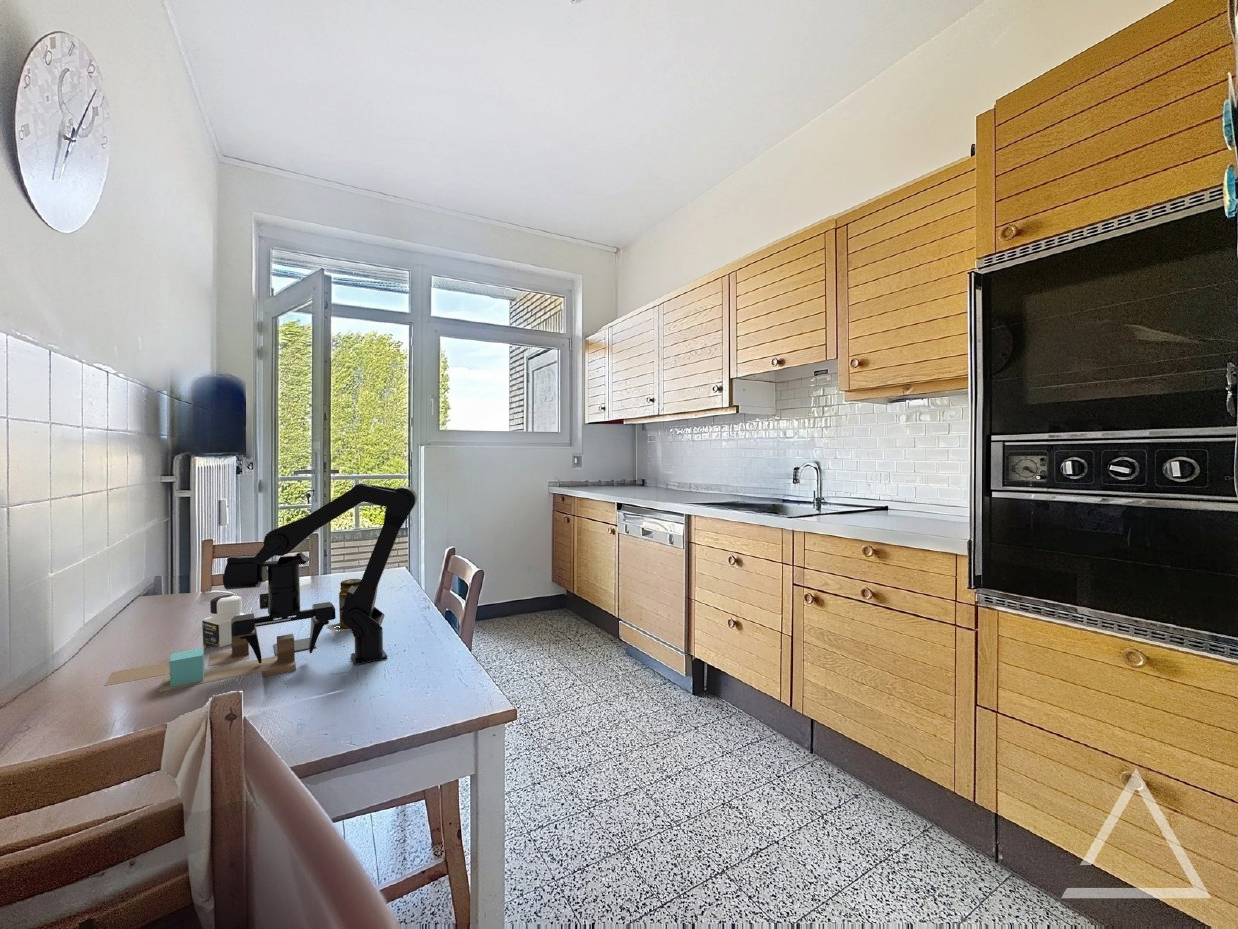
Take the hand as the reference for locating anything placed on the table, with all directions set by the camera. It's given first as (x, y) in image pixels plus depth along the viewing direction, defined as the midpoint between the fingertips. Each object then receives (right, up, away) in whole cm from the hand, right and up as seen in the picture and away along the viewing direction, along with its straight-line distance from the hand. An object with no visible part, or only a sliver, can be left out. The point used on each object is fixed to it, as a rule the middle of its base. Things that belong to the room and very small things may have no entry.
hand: (286, 657), depth 116 cm
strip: (-8, -2, -5) cm, 10 cm away
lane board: (-21, -2, -8) cm, 23 cm away
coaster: (-5, -2, +11) cm, 12 cm away
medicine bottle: (-22, -2, +13) cm, 25 cm away
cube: (-14, -1, -9) cm, 17 cm away
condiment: (0, -2, +27) cm, 27 cm away
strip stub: (-14, -2, +2) cm, 14 cm away
